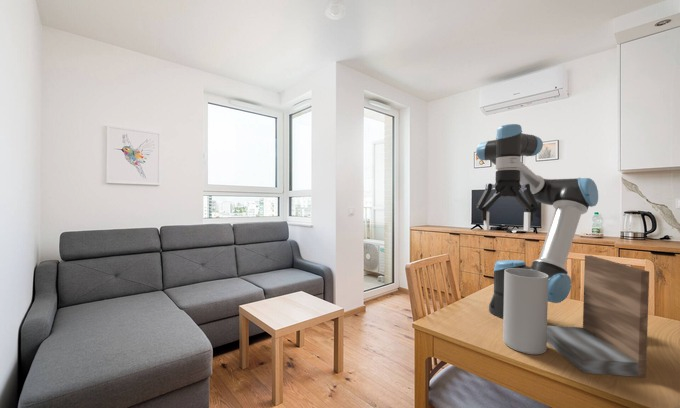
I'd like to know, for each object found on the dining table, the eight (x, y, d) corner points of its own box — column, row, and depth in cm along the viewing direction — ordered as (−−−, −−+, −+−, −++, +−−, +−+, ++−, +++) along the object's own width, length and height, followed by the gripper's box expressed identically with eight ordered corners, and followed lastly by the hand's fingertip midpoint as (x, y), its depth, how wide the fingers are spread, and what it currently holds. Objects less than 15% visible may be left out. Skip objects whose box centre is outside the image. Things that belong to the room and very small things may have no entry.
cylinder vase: (555, 352, 94) (557, 276, 94) (526, 358, 91) (528, 279, 90) (521, 334, 106) (523, 267, 106) (494, 339, 103) (495, 269, 102)
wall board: (582, 372, 83) (585, 269, 83) (539, 336, 105) (541, 254, 104) (645, 377, 81) (649, 271, 81) (588, 338, 103) (591, 255, 102)
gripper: (474, 168, 98) (473, 230, 99) (552, 169, 96) (550, 232, 97) (467, 170, 106) (466, 228, 106) (539, 171, 104) (537, 230, 104)
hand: (506, 230), depth 102 cm, fingers open, 13 cm apart
